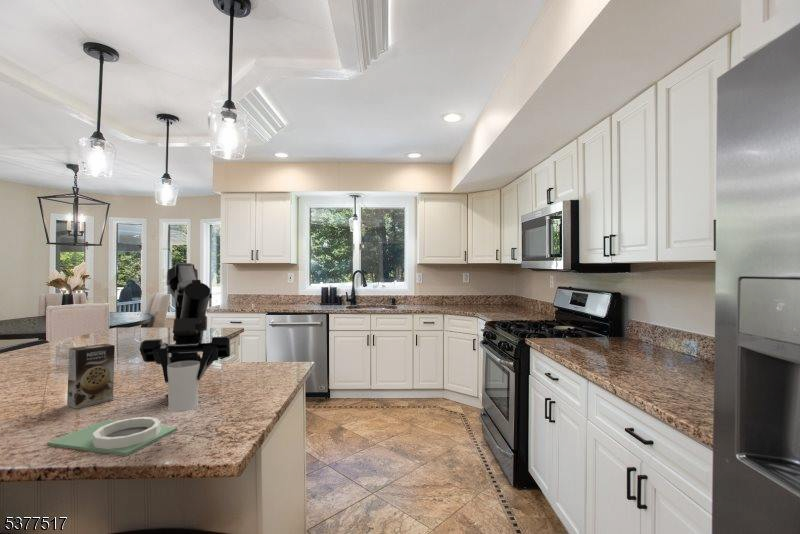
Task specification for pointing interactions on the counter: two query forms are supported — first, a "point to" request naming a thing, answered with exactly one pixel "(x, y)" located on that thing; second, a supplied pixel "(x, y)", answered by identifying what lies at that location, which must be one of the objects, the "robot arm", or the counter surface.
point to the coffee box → (90, 375)
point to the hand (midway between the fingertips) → (182, 380)
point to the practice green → (115, 436)
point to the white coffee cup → (183, 385)
